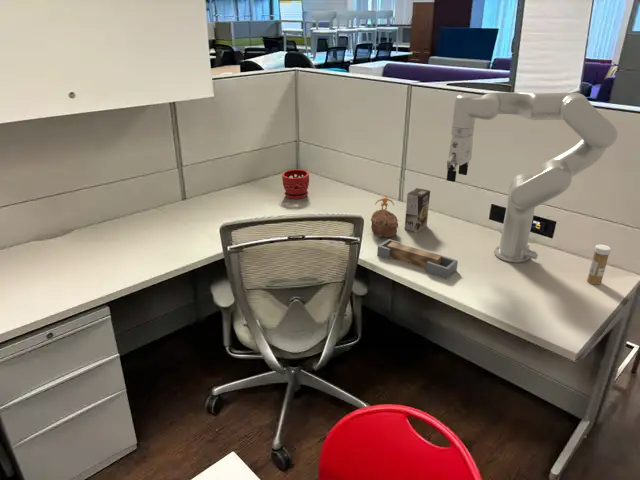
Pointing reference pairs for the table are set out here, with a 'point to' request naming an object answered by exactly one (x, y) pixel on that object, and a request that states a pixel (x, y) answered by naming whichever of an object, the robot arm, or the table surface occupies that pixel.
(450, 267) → the end cap
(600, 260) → the sprinkles bottle
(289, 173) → the plant pot
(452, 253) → the table surface
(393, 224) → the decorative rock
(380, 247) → the end cap
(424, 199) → the coffee box
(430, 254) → the slat
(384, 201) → the figurine
